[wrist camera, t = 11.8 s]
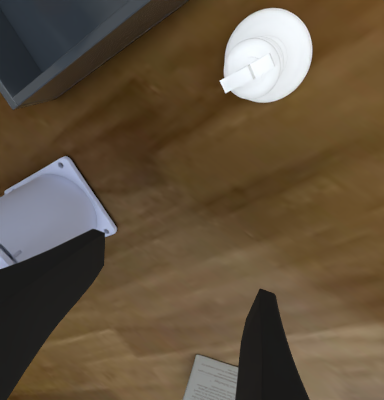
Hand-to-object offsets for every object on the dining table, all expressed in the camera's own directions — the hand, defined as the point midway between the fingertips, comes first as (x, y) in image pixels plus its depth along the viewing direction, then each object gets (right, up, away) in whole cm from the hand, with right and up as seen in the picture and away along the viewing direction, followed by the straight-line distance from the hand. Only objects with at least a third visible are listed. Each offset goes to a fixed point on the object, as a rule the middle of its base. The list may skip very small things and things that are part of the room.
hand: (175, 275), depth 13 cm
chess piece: (+5, +12, +4) cm, 14 cm away
